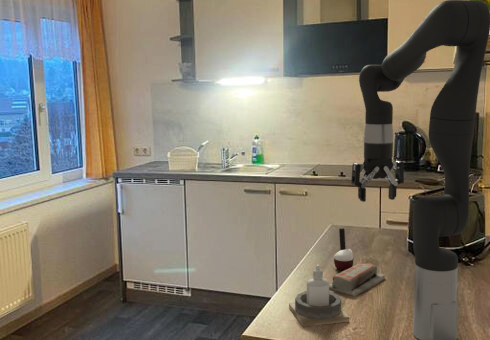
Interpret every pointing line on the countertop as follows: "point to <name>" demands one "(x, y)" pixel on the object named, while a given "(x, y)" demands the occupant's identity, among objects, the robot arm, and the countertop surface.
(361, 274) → the packaged product
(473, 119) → the robot arm
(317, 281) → the eye dropper bottle
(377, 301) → the countertop surface
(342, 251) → the red-capped knob on stick
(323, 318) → the collar board
